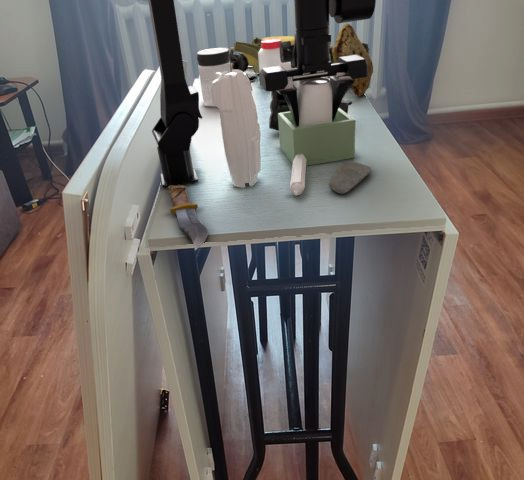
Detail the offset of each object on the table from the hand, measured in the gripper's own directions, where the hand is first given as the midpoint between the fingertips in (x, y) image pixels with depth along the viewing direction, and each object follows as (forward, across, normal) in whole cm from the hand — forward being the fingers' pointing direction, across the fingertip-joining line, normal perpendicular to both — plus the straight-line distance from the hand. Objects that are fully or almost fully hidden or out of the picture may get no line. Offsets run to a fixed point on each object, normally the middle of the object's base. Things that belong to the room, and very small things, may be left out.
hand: (314, 123), depth 100 cm
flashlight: (+6, +16, +9) cm, 19 cm away
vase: (+1, -16, -42) cm, 45 cm away
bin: (+6, 0, 0) cm, 6 cm away
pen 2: (+6, -8, -34) cm, 36 cm away
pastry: (-1, -20, -39) cm, 44 cm away
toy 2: (+4, -3, -91) cm, 91 cm away
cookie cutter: (+1, -4, -71) cm, 71 cm away
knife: (+5, +24, +20) cm, 32 cm away
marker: (+6, +7, +13) cm, 16 cm away
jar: (+6, +12, -48) cm, 50 cm away
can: (+5, 0, 0) cm, 5 cm away
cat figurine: (+6, -4, -20) cm, 21 cm away
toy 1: (+3, +8, -66) cm, 67 cm away
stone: (+4, +1, +15) cm, 15 cm away
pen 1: (+4, +4, -64) cm, 65 cm away
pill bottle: (+6, -5, -58) cm, 58 cm away
